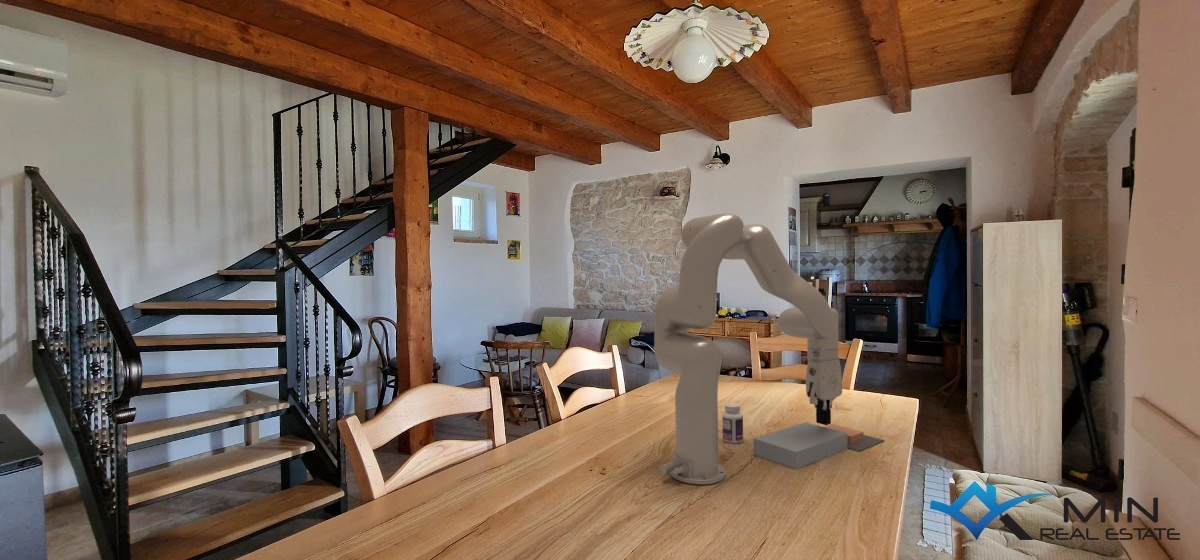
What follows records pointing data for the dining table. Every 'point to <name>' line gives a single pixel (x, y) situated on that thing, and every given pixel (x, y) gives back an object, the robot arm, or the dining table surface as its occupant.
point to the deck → (800, 444)
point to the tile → (848, 433)
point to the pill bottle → (732, 424)
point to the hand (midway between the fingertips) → (823, 423)
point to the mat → (864, 443)
